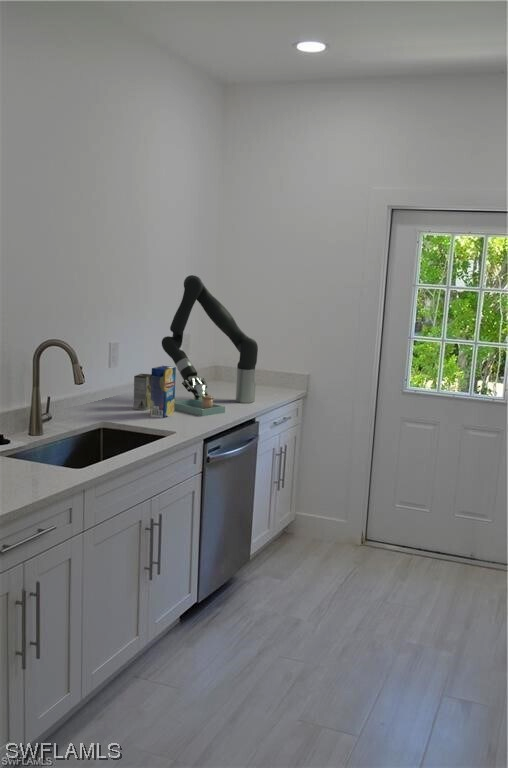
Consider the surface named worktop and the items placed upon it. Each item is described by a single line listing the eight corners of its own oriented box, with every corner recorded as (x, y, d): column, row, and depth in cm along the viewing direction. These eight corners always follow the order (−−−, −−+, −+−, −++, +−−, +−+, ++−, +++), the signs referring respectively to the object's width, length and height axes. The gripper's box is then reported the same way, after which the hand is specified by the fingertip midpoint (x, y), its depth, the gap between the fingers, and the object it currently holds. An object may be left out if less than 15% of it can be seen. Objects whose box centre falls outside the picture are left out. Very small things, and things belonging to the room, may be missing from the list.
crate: (192, 406, 366) (192, 399, 366) (224, 414, 352) (225, 406, 352) (169, 409, 355) (169, 402, 354) (202, 418, 341) (202, 409, 340)
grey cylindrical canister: (199, 405, 371) (200, 383, 369) (207, 407, 368) (208, 385, 366) (191, 406, 367) (192, 384, 365) (199, 408, 364) (200, 385, 362)
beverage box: (174, 414, 346) (175, 367, 343) (163, 418, 336) (165, 369, 333) (160, 412, 348) (162, 365, 345) (149, 416, 338) (151, 368, 335)
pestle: (206, 411, 353) (207, 394, 352) (215, 413, 350) (215, 396, 348) (198, 412, 349) (199, 396, 348) (207, 414, 346) (207, 397, 344)
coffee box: (139, 406, 360) (140, 373, 358) (152, 407, 359) (153, 374, 357) (132, 409, 352) (133, 375, 349) (145, 410, 350) (147, 376, 348)
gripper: (179, 365, 364) (196, 393, 358) (200, 364, 374) (216, 391, 369) (172, 375, 368) (188, 402, 362) (192, 373, 379) (208, 400, 373)
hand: (202, 396), depth 365 cm, fingers closed on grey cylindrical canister, 5 cm apart
